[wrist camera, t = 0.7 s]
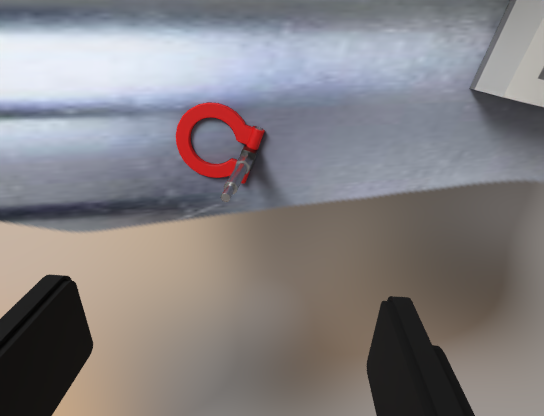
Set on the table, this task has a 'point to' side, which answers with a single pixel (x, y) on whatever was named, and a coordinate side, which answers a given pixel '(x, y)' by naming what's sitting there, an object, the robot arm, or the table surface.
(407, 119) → the table surface
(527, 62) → the well
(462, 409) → the robot arm
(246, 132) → the tow hook
